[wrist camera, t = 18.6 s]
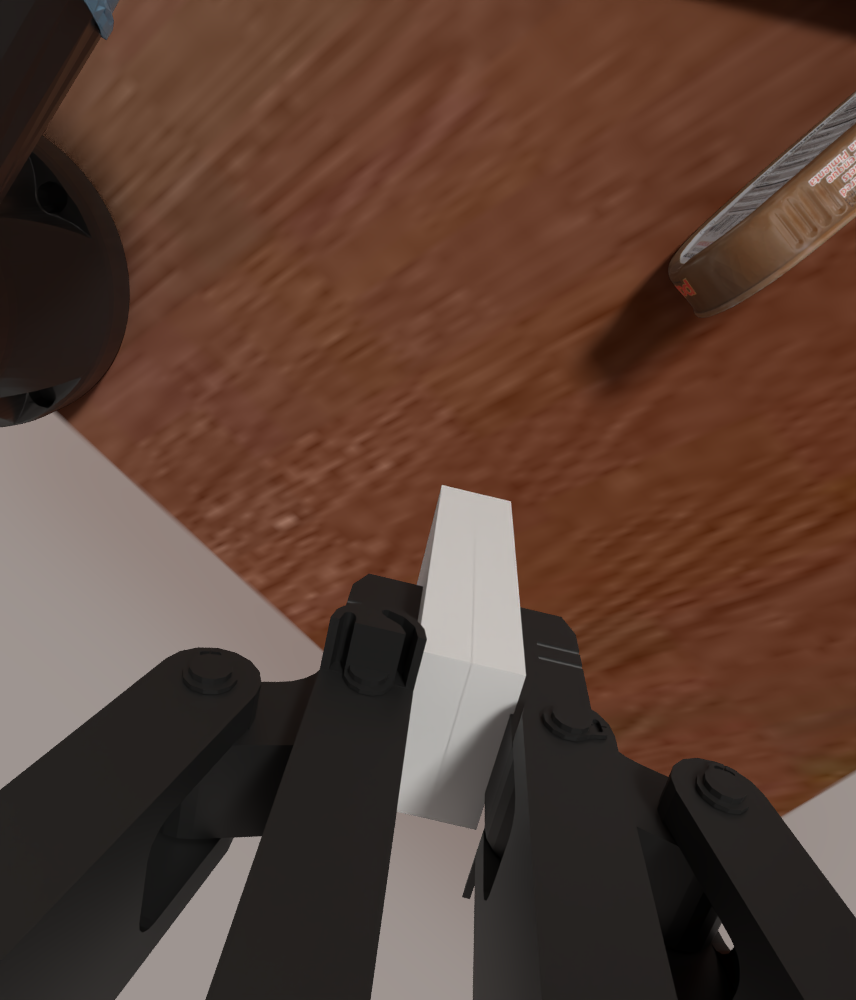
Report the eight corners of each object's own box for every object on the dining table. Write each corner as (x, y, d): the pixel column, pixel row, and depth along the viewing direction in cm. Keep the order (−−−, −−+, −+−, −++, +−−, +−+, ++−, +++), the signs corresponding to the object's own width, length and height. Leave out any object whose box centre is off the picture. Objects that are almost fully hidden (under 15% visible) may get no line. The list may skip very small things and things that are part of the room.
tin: (680, 310, 39) (730, 339, 31) (640, 261, 38) (681, 277, 30) (966, 71, 34) (1110, 32, 26) (927, 9, 34) (1063, -49, 26)
